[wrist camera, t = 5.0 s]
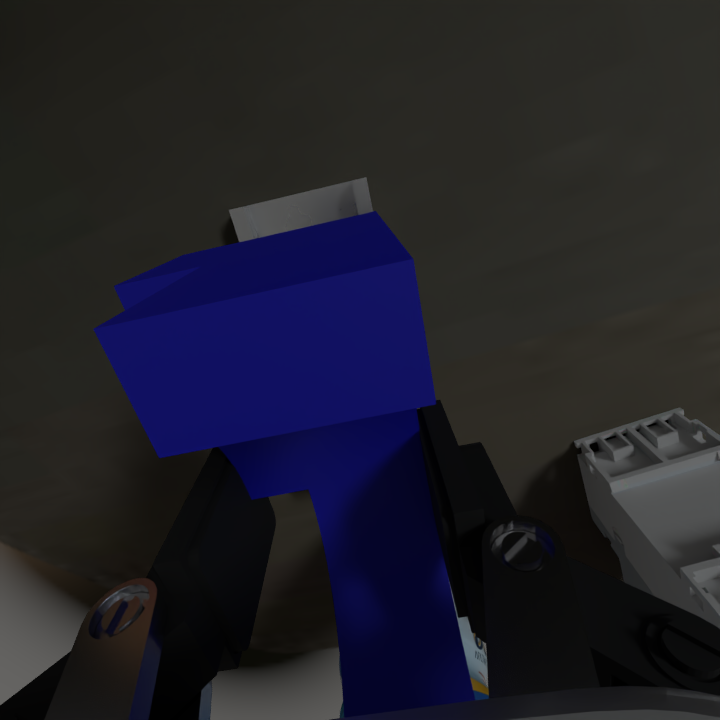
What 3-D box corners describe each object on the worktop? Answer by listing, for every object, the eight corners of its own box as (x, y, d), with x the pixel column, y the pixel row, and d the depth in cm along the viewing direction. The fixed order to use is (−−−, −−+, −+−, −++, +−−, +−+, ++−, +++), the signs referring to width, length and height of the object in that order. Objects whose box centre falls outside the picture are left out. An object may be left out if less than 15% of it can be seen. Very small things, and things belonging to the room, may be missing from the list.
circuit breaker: (603, 568, 35) (759, 813, 22) (573, 440, 30) (756, 659, 16) (693, 544, 34) (918, 786, 21) (679, 407, 29) (970, 610, 15)
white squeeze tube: (365, 177, 23) (366, 176, 20) (418, 451, 30) (425, 478, 28) (236, 208, 23) (220, 212, 21) (319, 469, 31) (316, 497, 28)
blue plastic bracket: (183, 254, 9) (-55, 361, 4) (375, 211, 9) (412, 258, 4) (315, 599, 14) (293, 865, 9) (444, 578, 14) (505, 840, 8)
